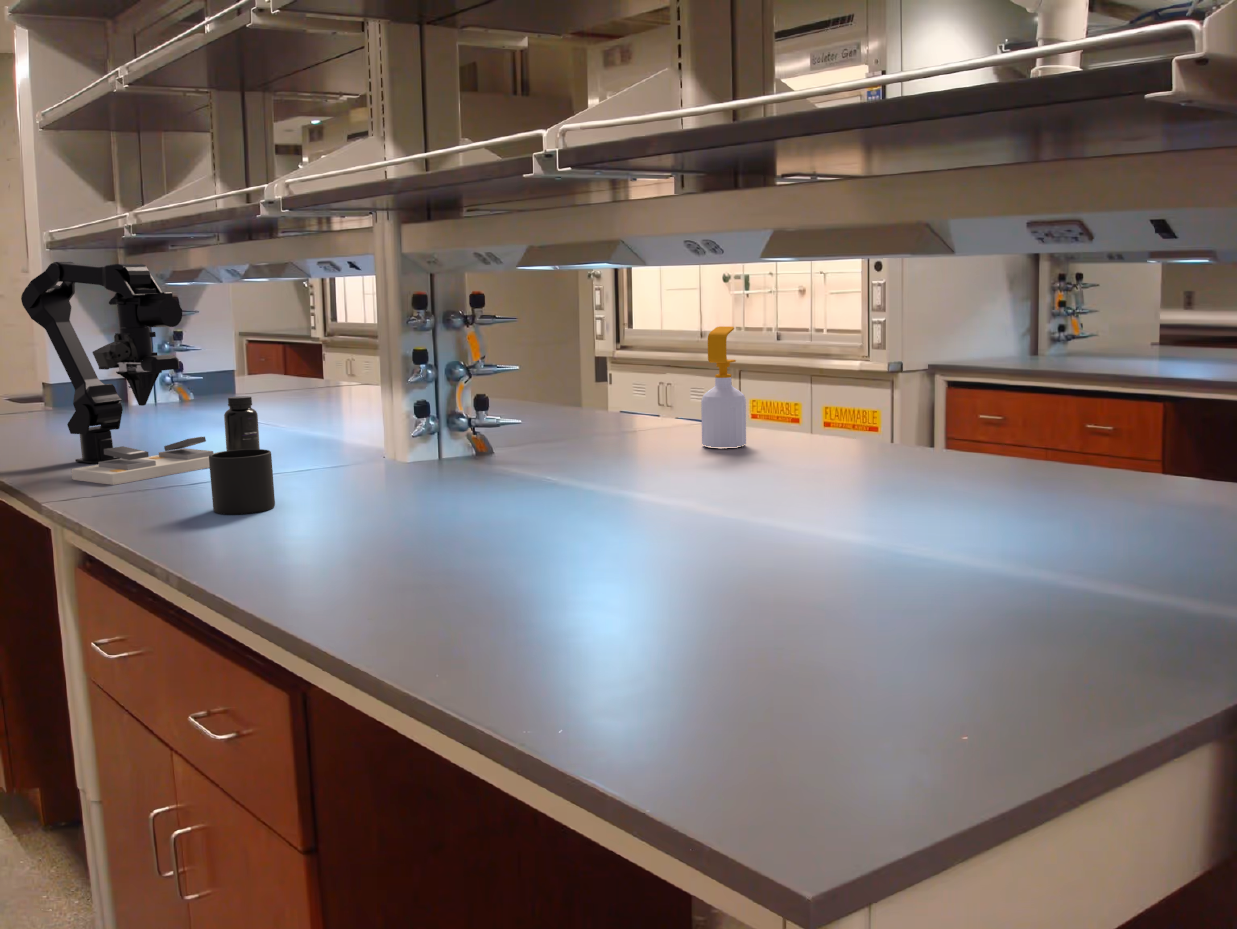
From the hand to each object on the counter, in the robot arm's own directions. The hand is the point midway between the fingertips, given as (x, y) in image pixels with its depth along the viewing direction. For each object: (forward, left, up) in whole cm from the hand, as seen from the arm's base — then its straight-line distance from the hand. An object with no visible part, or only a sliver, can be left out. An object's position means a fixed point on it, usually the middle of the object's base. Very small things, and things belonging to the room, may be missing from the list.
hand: (142, 405), depth 228 cm
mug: (+56, -21, -12) cm, 61 cm away
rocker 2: (+10, +2, -8) cm, 13 cm away
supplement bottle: (+6, +19, -12) cm, 23 cm away
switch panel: (+10, -6, -12) cm, 16 cm away
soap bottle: (+96, +68, -12) cm, 118 cm away
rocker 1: (+10, -11, -8) cm, 17 cm away
